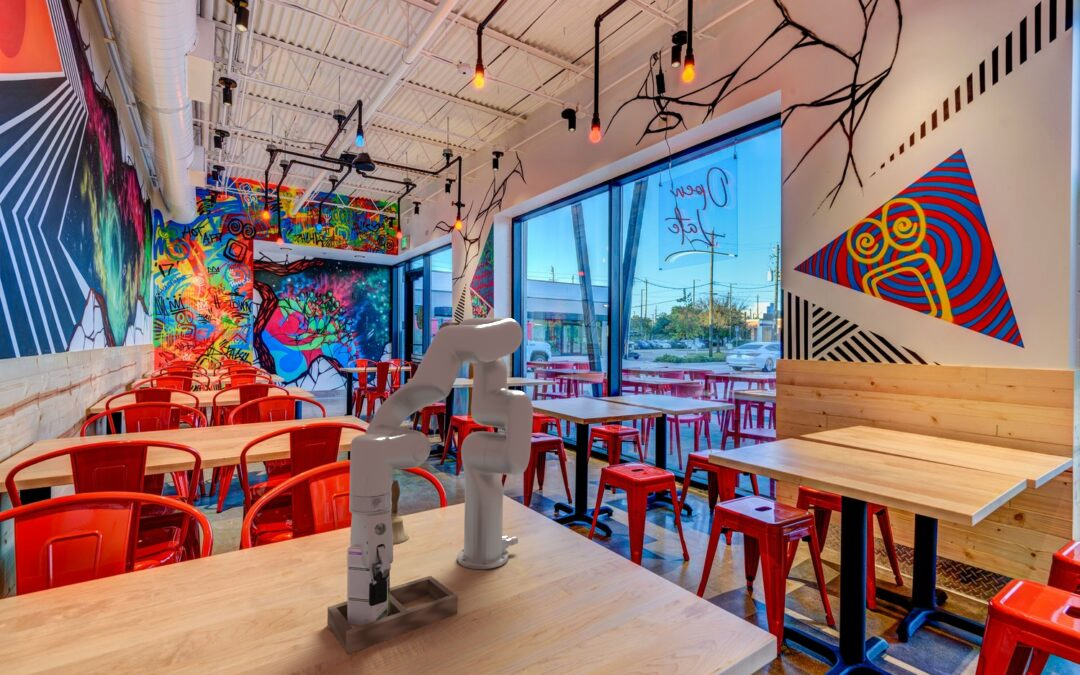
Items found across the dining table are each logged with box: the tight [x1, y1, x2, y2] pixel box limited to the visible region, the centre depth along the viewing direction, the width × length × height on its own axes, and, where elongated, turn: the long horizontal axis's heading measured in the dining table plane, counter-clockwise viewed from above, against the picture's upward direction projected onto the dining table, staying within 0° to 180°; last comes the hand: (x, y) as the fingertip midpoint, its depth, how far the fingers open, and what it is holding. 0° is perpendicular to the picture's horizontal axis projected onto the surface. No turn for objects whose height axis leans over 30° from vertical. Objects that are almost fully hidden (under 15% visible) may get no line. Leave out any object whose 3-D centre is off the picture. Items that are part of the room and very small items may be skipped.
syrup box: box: [346, 544, 391, 627], centre depth 98 cm, size 6×6×14 cm
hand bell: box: [390, 479, 410, 545], centre depth 142 cm, size 8×8×16 cm
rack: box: [326, 575, 459, 655], centre depth 101 cm, size 22×11×4 cm, turn 130°
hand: (369, 593), depth 98 cm, fingers closed on syrup box, 7 cm apart
